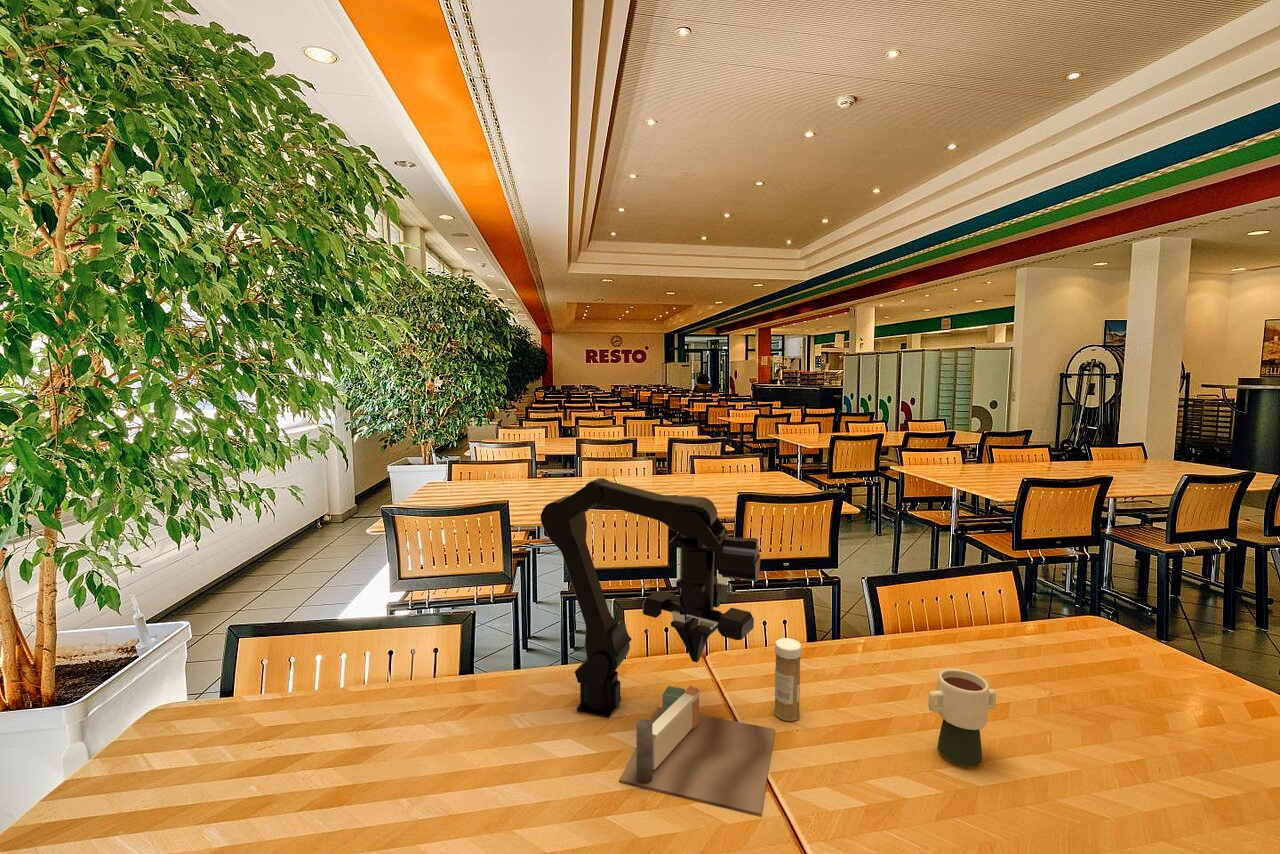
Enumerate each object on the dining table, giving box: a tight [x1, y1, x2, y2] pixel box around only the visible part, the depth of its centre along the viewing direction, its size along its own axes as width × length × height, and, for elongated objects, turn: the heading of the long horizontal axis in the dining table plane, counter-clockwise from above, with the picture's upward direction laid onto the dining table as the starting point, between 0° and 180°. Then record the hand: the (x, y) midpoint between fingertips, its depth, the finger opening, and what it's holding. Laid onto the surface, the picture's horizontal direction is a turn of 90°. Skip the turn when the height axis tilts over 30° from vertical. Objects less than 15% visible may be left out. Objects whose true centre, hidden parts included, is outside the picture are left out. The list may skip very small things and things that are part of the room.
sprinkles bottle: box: [773, 637, 803, 722], centre depth 103 cm, size 5×5×14 cm
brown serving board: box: [618, 685, 776, 817], centre depth 92 cm, size 21×20×9 cm
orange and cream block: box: [652, 685, 700, 770], centre depth 94 cm, size 14×2×6 cm, turn 147°
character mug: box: [927, 668, 997, 768], centre depth 91 cm, size 11×7×13 cm, turn 94°
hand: (695, 661), depth 99 cm, fingers closed
